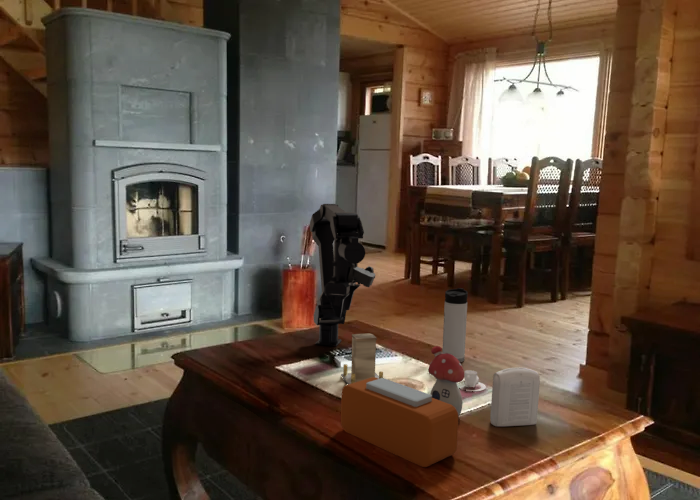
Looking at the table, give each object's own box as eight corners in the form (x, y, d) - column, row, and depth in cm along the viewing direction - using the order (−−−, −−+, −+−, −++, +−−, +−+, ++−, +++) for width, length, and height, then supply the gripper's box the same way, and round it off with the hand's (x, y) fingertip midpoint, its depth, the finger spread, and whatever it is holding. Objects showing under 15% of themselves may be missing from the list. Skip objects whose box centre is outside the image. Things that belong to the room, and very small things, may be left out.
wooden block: (350, 376, 169) (351, 334, 167) (370, 375, 170) (371, 333, 169) (355, 381, 165) (356, 338, 163) (375, 380, 166) (376, 337, 165)
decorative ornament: (421, 408, 150) (424, 344, 148) (447, 405, 153) (450, 342, 151) (441, 424, 142) (444, 356, 140) (468, 421, 144) (471, 354, 142)
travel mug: (468, 358, 189) (471, 289, 186) (459, 364, 184) (462, 293, 181) (448, 354, 192) (451, 286, 190) (438, 360, 187) (441, 290, 184)
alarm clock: (457, 457, 127) (460, 400, 125) (429, 471, 121) (431, 411, 119) (368, 419, 144) (369, 369, 142) (339, 430, 138) (341, 377, 136)
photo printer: (530, 417, 147) (533, 364, 145) (539, 425, 143) (543, 370, 141) (487, 421, 144) (490, 366, 143) (495, 429, 140) (499, 372, 139)
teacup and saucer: (467, 379, 173) (468, 364, 172) (494, 387, 167) (494, 371, 166) (447, 387, 166) (447, 371, 166) (473, 395, 161) (474, 379, 160)
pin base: (340, 376, 171) (341, 364, 170) (374, 374, 173) (374, 361, 173) (350, 388, 162) (350, 375, 162) (385, 386, 165) (385, 373, 164)
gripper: (365, 265, 171) (363, 324, 173) (380, 255, 189) (378, 308, 191) (323, 262, 173) (322, 320, 176) (342, 252, 191) (341, 305, 193)
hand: (343, 313), depth 184 cm, fingers open, 9 cm apart
